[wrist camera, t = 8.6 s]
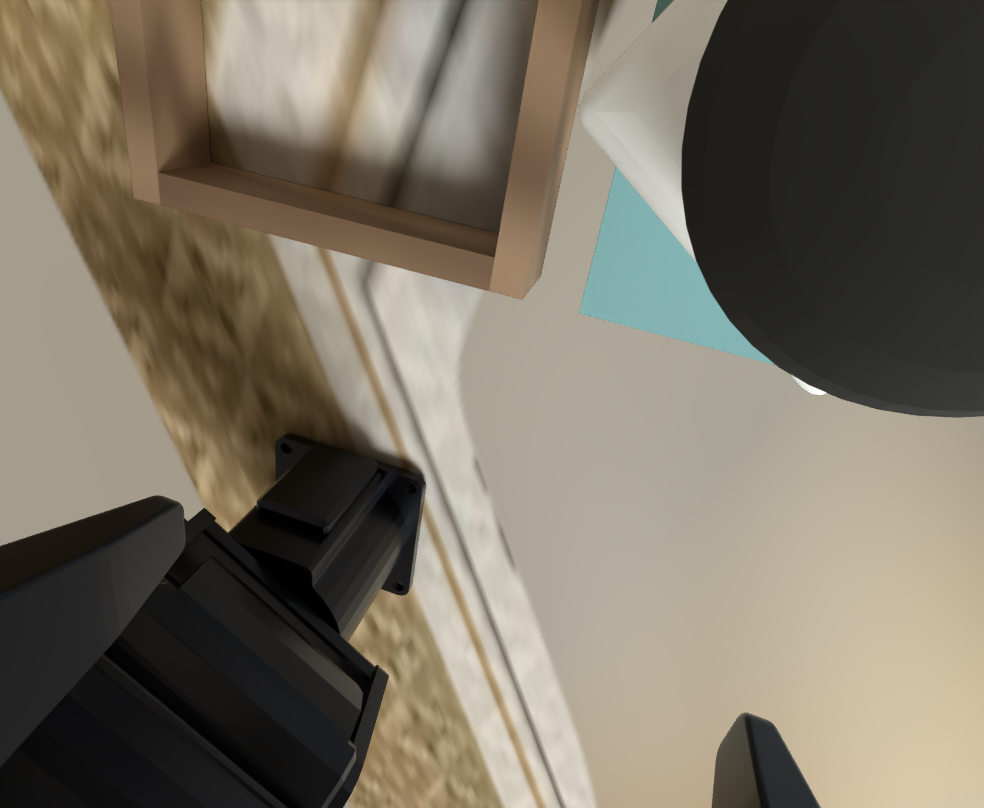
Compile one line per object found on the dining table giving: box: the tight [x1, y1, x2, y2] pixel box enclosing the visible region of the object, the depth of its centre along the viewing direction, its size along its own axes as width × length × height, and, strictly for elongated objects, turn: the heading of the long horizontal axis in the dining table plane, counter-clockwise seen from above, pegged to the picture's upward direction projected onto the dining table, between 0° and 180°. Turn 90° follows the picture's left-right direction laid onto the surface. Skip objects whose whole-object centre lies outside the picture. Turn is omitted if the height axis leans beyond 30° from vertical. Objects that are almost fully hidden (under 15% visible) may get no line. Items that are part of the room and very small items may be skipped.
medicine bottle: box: [578, 0, 984, 417], centre depth 10 cm, size 7×7×12 cm
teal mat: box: [579, 0, 775, 365], centre depth 16 cm, size 14×9×1 cm, turn 170°
